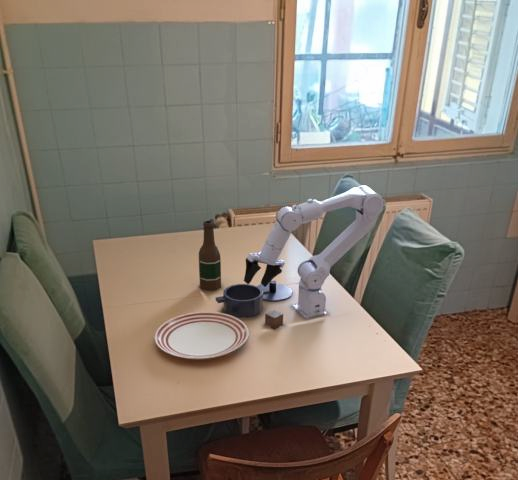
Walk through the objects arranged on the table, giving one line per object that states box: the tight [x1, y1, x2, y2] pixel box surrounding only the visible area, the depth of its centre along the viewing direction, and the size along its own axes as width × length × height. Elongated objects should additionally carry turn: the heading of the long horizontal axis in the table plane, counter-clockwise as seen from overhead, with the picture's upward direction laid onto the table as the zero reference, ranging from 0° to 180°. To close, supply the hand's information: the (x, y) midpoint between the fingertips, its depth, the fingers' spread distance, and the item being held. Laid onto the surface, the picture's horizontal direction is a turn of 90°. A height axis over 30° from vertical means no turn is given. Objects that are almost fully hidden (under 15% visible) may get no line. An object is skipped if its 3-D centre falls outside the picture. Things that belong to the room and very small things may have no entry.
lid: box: [256, 279, 293, 302], centre depth 195 cm, size 14×14×5 cm
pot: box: [215, 283, 270, 319], centre depth 184 cm, size 13×18×6 cm
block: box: [264, 309, 284, 330], centre depth 176 cm, size 4×4×4 cm
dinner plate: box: [154, 311, 250, 360], centre depth 167 cm, size 27×27×3 cm
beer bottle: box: [198, 220, 222, 292], centre depth 193 cm, size 8×8×24 cm
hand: (254, 283), depth 177 cm, fingers open, 7 cm apart
